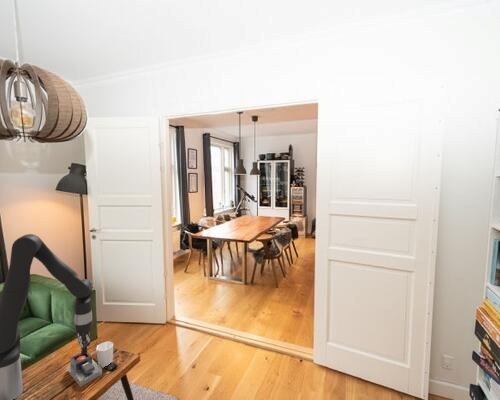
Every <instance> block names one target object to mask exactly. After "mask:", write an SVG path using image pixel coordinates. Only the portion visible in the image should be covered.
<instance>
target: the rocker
mask: <svg viewBox="0 0 500 400" xmlns="http://www.w3.org/2000/svg"><path fill="white" fill-rule="evenodd" d="M81 369H82V370H83V371H85V372H86V373H87V374H88V373H90V372H92V371H94V370H95V367H94V366H93V365H92V364H91V363H90V362H87V363H85V364H83V365H81Z"/></svg>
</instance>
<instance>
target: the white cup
mask: <svg viewBox="0 0 500 400" xmlns="http://www.w3.org/2000/svg"><path fill="white" fill-rule="evenodd" d="M96 358H97V364H98V365H99V366H100V367H101V368H103V369H104V367H105V366H107V365H108V364H110V363H111V362H112V363H113V360H114V359H113V358H114V342H112V341H109V340H107V341H104V342H102V343H99V344H98V345H97V346H96ZM105 368H106V367H105Z"/></svg>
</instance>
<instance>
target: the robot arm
mask: <svg viewBox="0 0 500 400" xmlns="http://www.w3.org/2000/svg"><path fill="white" fill-rule="evenodd" d="M10 251H11V252H10V261H9V267H8V270H7V273H6V277H5V280H4V284H3V287H2V290H1V295H0V400H13V399H15V400H16V399H18V398H19V397H20V396H21V395H22V393H23V391H24V389H23V387H24V386H23V377H22V375H23V374H22V363H21V361H22V360H21V331H20V328H19V327H18V325H19V321H20V317H21V315H22V312H23V310H24V309H25V305H26V302H27V299H28V296H29V292H30V288H31V267H32V264H33V261H34V258H35V259H36V260H37V261H39V262H40V263H41V264H42V265H43V266H44V267H45V268H46V270H47V271H48V273H50V274H51V275H50V276H52V277H53V278H55V279H56V281H58V282H60V283H61V284H62V285H64V286H65V288H66V289H67V290H68V291H69V292H70V294H71V295H72V296H74V297H75V300H76V301H75V304H74V318H73V319H74V332H75V333H76V334H75V335H76V336H77V340H78V344H79V346H80V351H81V352H80V353H82V354H85V353H87V352H88V347H89V346H90V345H91V343H92V341H93V339H92V338H90V332H89V331H91V330H92V329H93V311H92V291H93V284H92V282H91V280H89V279H88V278H87V279H86V278H83V279H80V278H79V276H78V273H77V272H76V271H75V270H74V269H73V268H71V267H70V266H69V265H68V264H67V263H65V262H64V261H63V260H61V259H60V258H59V257H58V256H57V254H55V253H54V252H53V251H52V250H51V249H50V248H49V247H48V246H47V245H46V244H45V242H44V241H43V240H42V239H41V238H40V237H39V236H38V235H36V234H32V233H29V234H24V235H22V236H20V237H17V239H16V240H14V241H13V243H12V245H11V250H10Z"/></svg>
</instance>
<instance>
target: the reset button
mask: <svg viewBox="0 0 500 400" xmlns="http://www.w3.org/2000/svg"><path fill="white" fill-rule="evenodd" d="M85 358H86V356H80V357H78V358H77V359H76V361H77V362H79V361H81V360H83V359H85Z"/></svg>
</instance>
